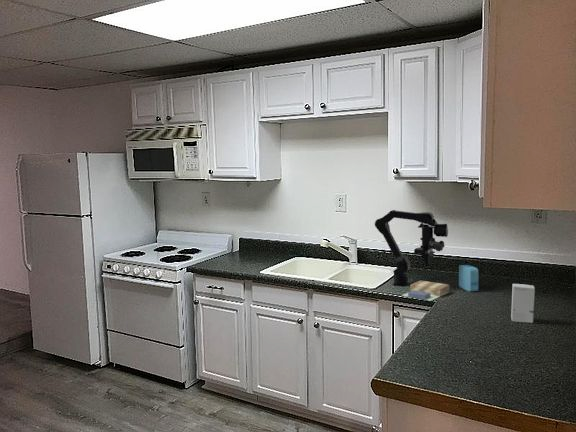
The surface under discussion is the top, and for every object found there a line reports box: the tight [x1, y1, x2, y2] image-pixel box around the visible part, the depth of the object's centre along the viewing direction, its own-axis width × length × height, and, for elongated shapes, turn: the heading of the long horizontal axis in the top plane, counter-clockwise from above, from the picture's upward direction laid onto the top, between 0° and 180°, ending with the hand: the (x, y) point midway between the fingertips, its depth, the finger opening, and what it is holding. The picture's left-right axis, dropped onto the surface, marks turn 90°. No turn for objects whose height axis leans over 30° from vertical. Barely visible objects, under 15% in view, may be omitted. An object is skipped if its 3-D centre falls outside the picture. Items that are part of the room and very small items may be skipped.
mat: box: [401, 291, 440, 302], centre depth 245 cm, size 16×9×1 cm, turn 48°
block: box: [407, 290, 430, 300], centre depth 244 cm, size 9×6×2 cm, turn 49°
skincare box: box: [510, 283, 536, 324], centre depth 203 cm, size 8×6×15 cm
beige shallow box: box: [409, 280, 450, 298], centre depth 252 cm, size 16×11×4 cm
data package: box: [458, 264, 479, 293], centre depth 256 cm, size 12×4×12 cm, turn 9°
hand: (427, 264), depth 262 cm, fingers closed
